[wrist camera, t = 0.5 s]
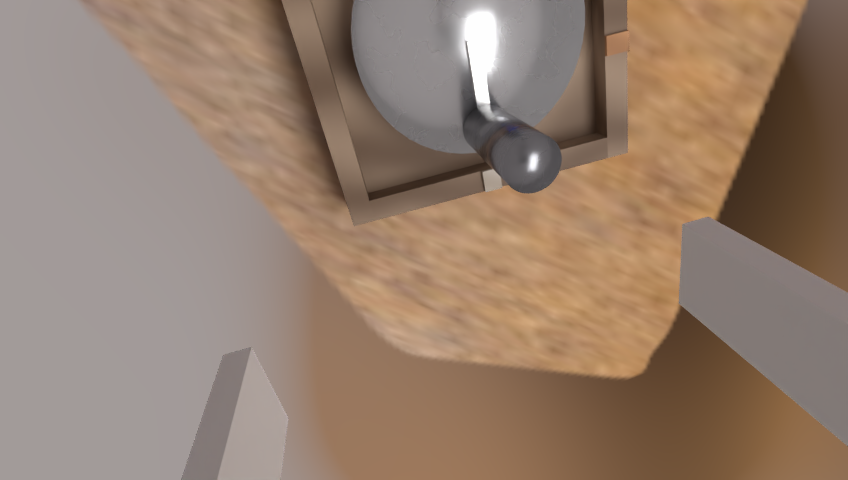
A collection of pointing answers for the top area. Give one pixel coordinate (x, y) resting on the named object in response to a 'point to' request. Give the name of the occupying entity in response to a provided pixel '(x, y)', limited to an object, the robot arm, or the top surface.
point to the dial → (472, 75)
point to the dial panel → (435, 170)
